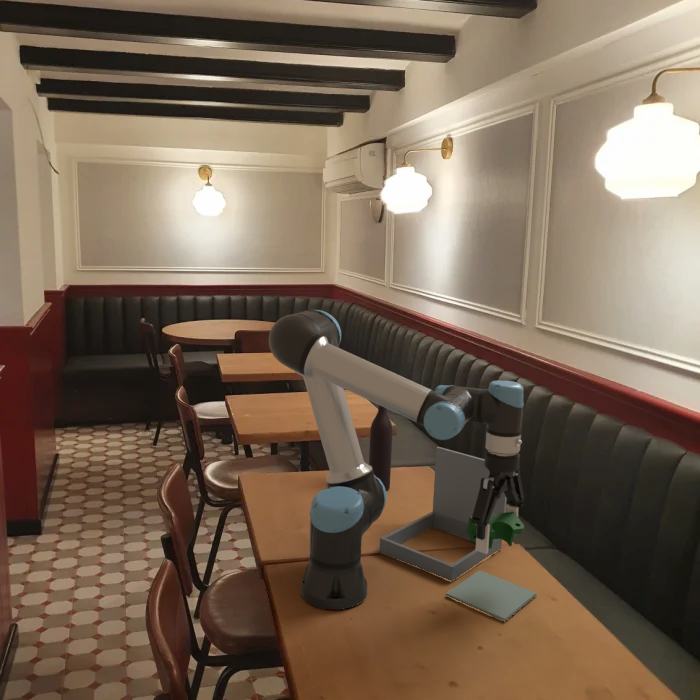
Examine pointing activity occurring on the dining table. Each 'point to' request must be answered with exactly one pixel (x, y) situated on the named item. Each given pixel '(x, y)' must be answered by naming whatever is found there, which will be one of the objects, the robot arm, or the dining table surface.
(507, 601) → the mat
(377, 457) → the wine bottle
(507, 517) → the clamp
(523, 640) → the dining table surface
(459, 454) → the case
